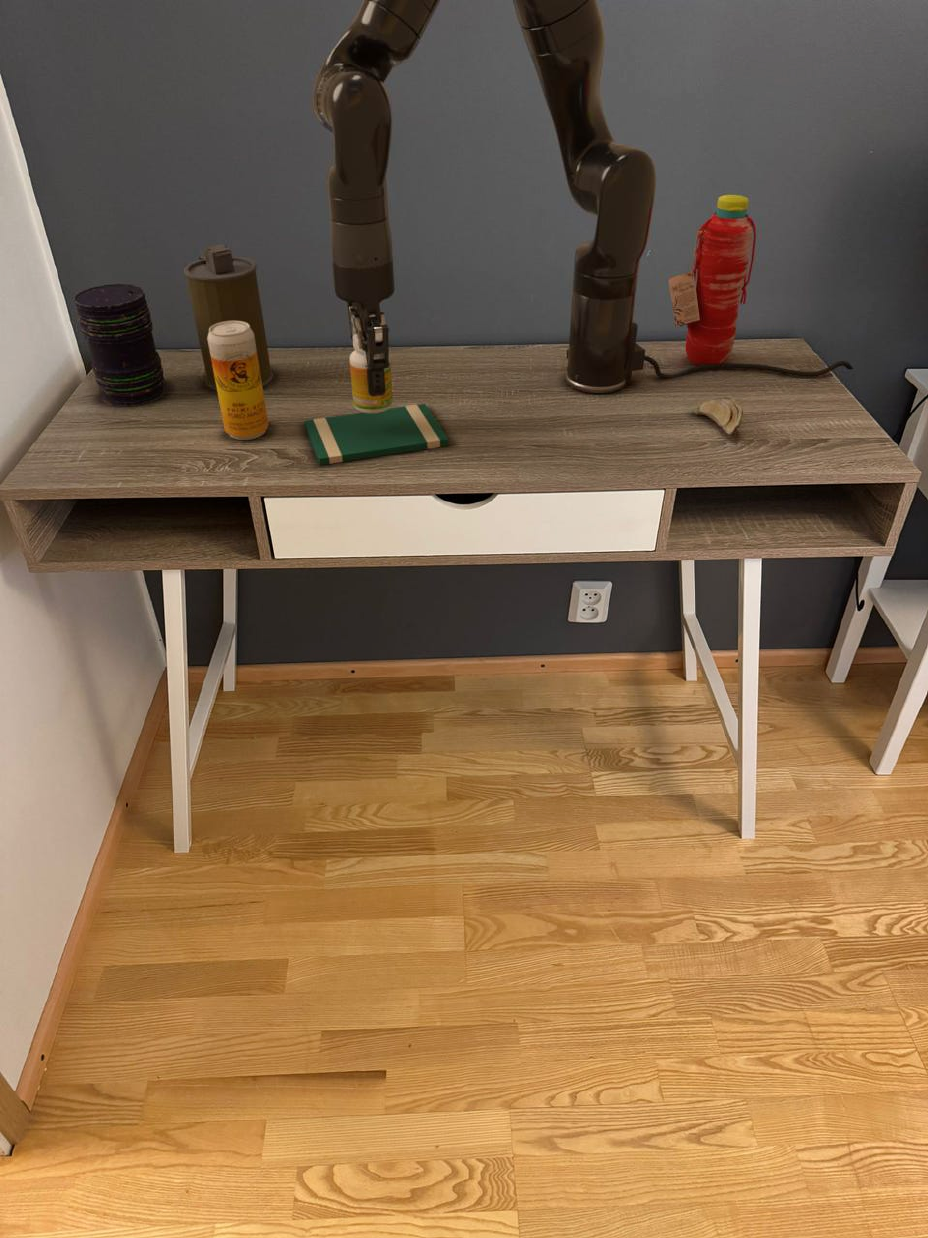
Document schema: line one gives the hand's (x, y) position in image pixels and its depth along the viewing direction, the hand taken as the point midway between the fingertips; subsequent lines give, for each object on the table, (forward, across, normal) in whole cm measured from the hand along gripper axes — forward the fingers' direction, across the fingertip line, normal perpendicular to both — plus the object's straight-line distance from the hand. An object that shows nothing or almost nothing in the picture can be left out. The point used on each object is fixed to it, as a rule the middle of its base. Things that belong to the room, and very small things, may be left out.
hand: (371, 385), depth 119 cm
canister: (+8, +26, +16) cm, 32 cm away
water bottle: (+8, +9, -56) cm, 57 cm away
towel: (+8, 0, 0) cm, 8 cm away
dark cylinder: (+8, +26, +32) cm, 42 cm away
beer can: (+8, +7, +17) cm, 20 cm away
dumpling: (+8, -13, -47) cm, 49 cm away
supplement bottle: (+3, 0, 0) cm, 3 cm away
